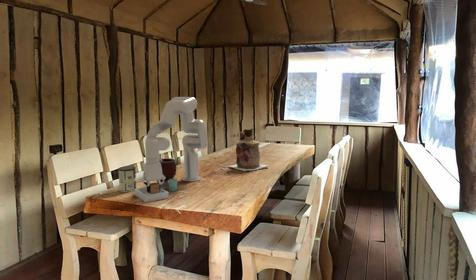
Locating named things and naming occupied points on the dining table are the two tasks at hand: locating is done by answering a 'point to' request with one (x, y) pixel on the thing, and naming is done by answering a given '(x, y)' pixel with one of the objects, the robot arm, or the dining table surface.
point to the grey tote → (148, 197)
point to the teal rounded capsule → (173, 184)
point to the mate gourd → (167, 171)
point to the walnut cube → (154, 188)
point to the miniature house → (127, 178)
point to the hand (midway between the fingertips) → (153, 191)
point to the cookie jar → (248, 153)
